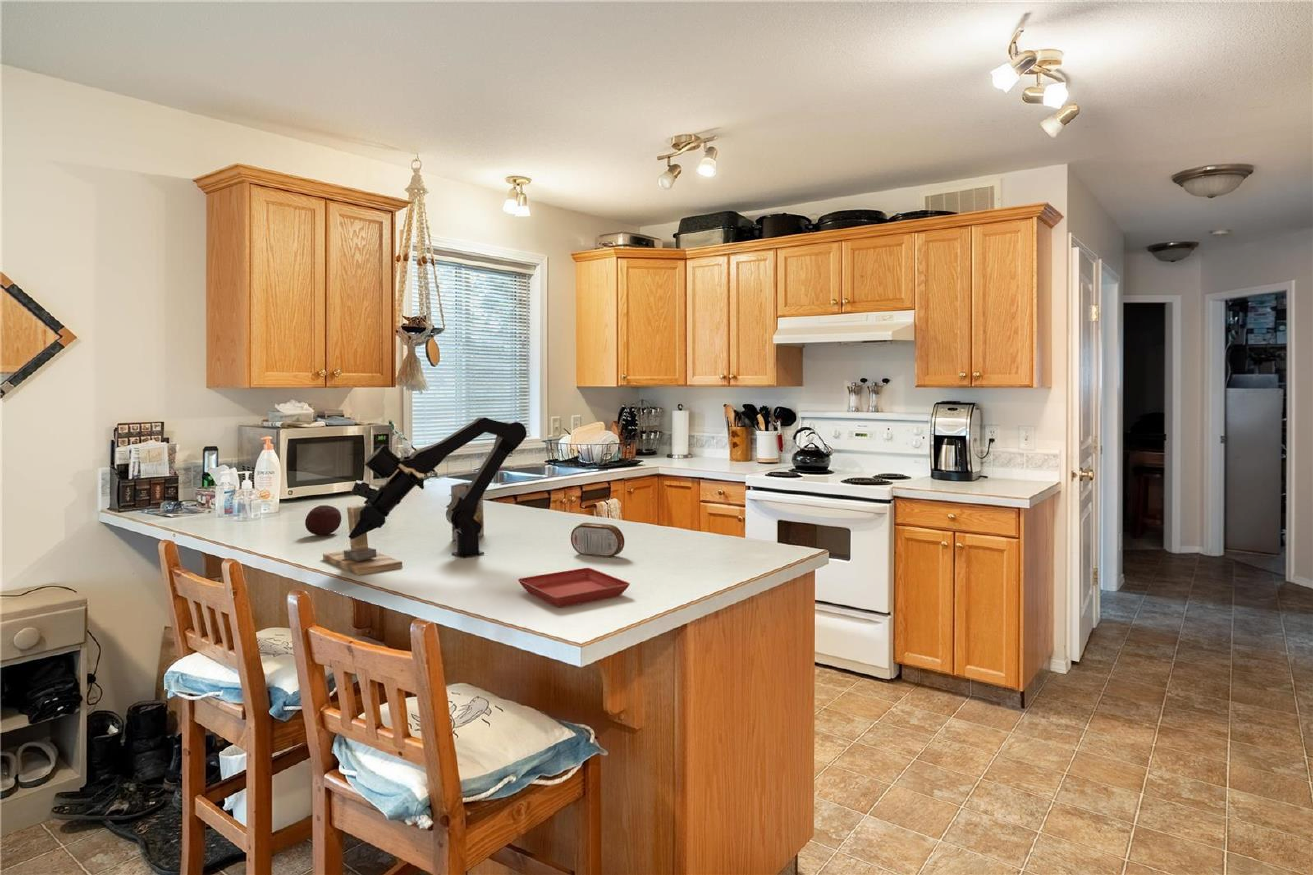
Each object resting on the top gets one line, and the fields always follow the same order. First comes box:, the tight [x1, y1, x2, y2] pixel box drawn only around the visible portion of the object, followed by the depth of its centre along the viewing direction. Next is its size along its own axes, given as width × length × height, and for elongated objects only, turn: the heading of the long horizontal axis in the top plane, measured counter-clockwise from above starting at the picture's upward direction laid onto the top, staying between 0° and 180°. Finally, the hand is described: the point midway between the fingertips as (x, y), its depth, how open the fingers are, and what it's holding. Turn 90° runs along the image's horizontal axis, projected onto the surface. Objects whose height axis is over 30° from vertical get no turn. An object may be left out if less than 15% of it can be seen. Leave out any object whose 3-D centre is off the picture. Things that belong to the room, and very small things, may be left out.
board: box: [322, 550, 403, 576], centre depth 199 cm, size 24×11×2 cm, turn 42°
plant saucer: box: [517, 567, 631, 608], centre depth 167 cm, size 18×18×3 cm
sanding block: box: [342, 504, 377, 561], centre depth 197 cm, size 7×5×13 cm
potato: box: [304, 504, 342, 537], centre depth 238 cm, size 9×12×9 cm
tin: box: [570, 522, 625, 558], centre depth 205 cm, size 15×3×8 cm, turn 65°
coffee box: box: [450, 481, 485, 541], centre depth 232 cm, size 9×6×16 cm
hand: (350, 536), depth 197 cm, fingers closed on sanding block, 4 cm apart
